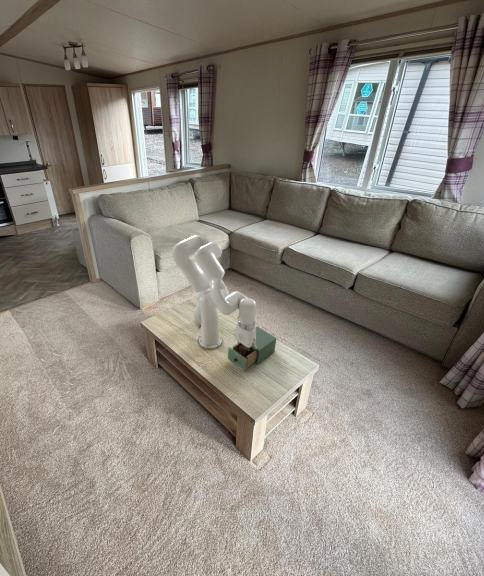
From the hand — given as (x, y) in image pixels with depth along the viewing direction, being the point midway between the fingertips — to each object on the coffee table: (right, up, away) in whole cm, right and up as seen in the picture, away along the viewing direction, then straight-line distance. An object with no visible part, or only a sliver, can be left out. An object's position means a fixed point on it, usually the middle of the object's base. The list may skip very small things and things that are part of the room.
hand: (244, 351), depth 149 cm
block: (0, 0, 0) cm, 0 cm away
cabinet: (+8, -1, +9) cm, 12 cm away
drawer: (0, -4, +3) cm, 5 cm away
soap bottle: (-18, +12, +32) cm, 38 cm away
